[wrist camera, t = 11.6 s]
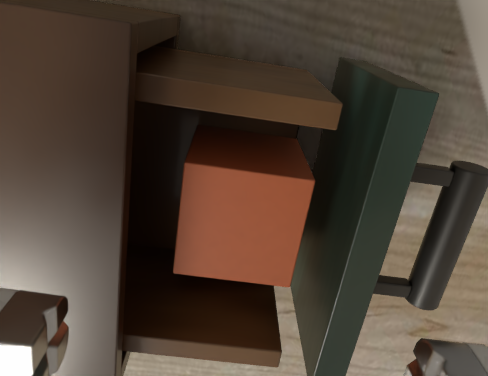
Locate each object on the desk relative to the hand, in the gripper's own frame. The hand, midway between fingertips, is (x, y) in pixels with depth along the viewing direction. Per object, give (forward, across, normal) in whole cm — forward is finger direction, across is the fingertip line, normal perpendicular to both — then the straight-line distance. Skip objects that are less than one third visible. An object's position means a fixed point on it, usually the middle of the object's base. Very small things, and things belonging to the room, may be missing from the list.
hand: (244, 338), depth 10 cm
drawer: (+11, 0, 0) cm, 11 cm away
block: (+10, 0, 0) cm, 10 cm away
